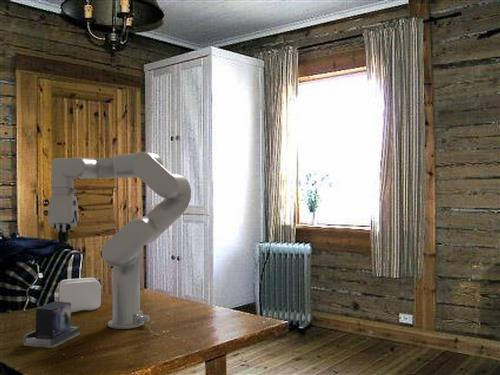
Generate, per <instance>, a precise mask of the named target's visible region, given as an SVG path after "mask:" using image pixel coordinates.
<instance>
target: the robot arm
mask: <svg viewBox="0 0 500 375" xmlns="http://www.w3.org/2000/svg"><path fill="white" fill-rule="evenodd" d="M163 165H164V164H163V160H162V158H161V157H160V155H158V154H156V153H154V152H148V151H139V152H137V153H123V154H121V153H119V154H116V155H114V156H112V157H104V158H103V157H102V158H101V157H100V158H99V157H98V158H97V157H96V158H90V157H80V156H79V157H70V158H65V157H64V158H63V157H61V158H60V157H59V158H53V159H52V160H51V196H50V197H49V201H48V202H49V203H48V210H47V211H48V214H47V215H48V216H47V218H48V222H49V225H48V226H49V227H52V228H54V229H55V230H56V232H57V235H58V236H57V238H58V244H66V243H68V241H69V232H70V229H71V228H74V227H77V226H78V222H79V220H80V216H79V214H80V213H79V204H78V198H77V195H75V194H76V193H77V189H76V188H75V187H74V186H75V183H74V182H75V180H74V179H110V178H115V179H129V178H130V179H131V178H138V179H139V180H141V181H142V182H143V183H144V184H145V185H146V186H148V188H149V189H150V190H152V191H153V192H154V193H155V194H156V195H158V196H159V197H161V198H163V200H162V201H160V202H159V203H158V204H156V205H155V207H153V209H151V210H150V211H149V212H148V213H147V214H144V216H141V217H136V218H134V219H131V220H130V221H128V222H127V223H125V224H124V226H123V227H121V228H120V229H119V230H118V231H117V232H116V233H115V234H114V235H113V236H111V237H110V238H109V239H108V240H107V241H106V242H105V243H104V244H103V247H102V249H101V257H102V260H103V261H104V263H105V264H106V265H108V266H110V267H113V269H112V285H111V286H112V319H110V320H109V321H108V322H107V326H108V327H109V328H110V329H117V330H129V329H135V328H139V327H142V326H144V325H145V322H146V323H147V322H148V323H149V322H150V320H151V317H150V316H151V315H149V314H144V311H143V310H141V285H140V284H141V262H142V261H141V260H142V254H143V253H142V252H143V251H142V250H143V248H144V246H146V245H149V244H152V243H153V242H155V241H156V240H157V239H158V238H159V237H160V236H161V235H162V234H163V233H164V232H165V231H166V230H168V229H169V228H170V227H171V226H172V224H174V223H175V222H176V221H177V220H178V219H179V218H180V217H181V216H182V215H183V214H184V213H185V211H187V208H188V206H189V205H190V202H191V198H192V188H191V185H190V182H189V181H188V179H187V178H186V177H185V176H183V175H181V174H178V173H171V172H170V171H169V170H168V169H167V168H165V167H164V166H163Z"/></svg>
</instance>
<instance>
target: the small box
mask: <svg viewBox="0 0 500 375" xmlns="http://www.w3.org/2000/svg"><path fill="white" fill-rule="evenodd" d="M71 317H72V312H71V303H69V302H59V300H55V301H53V302H49V303H47V304H43V305H42V306H41V305H40V306H38V307H35V330H36V335H35V338H46V339H53V338H55V337H57V336H59V335H62V334H64V333H66V332H68V331H70V330H71V327H72V318H71Z"/></svg>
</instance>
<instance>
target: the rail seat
mask: <svg viewBox="0 0 500 375" xmlns="http://www.w3.org/2000/svg"><path fill="white" fill-rule="evenodd" d="M80 329H81V327H80V326H71V330H70V331H68V332H66V333H64V334H62V335H59V336H57V337H55V338H53V339H46V338H35V335H36V329H34V330H33V331H31V332H28V333H26V334H23V346H26V347H37V348H51V349H53V348H56V347H58V346H61V345H62V344H64V343H65V342H68V341H69V340H72V339H73V338H75V337H77V336H80V335H81V330H80Z"/></svg>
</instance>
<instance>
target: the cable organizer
mask: <svg viewBox="0 0 500 375" xmlns="http://www.w3.org/2000/svg"><path fill="white" fill-rule="evenodd" d="M101 286H102V285H101V283H100V281H99V280H97V279H96V278H95V277H82V278H81V277H80V278H69V279H63V280H60V282H59V283H58V287H59V288H58V290H59V291H58V292H59V293H58V298H59V299H58V301H59V302H69V303H71V313H74V312H75V313H76V312H80V311H85V310H86V311H94V310H96V309H98V308H99V307H100V306H101V304H102V296H101V295H102V293H101V292H102V288H101Z"/></svg>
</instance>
